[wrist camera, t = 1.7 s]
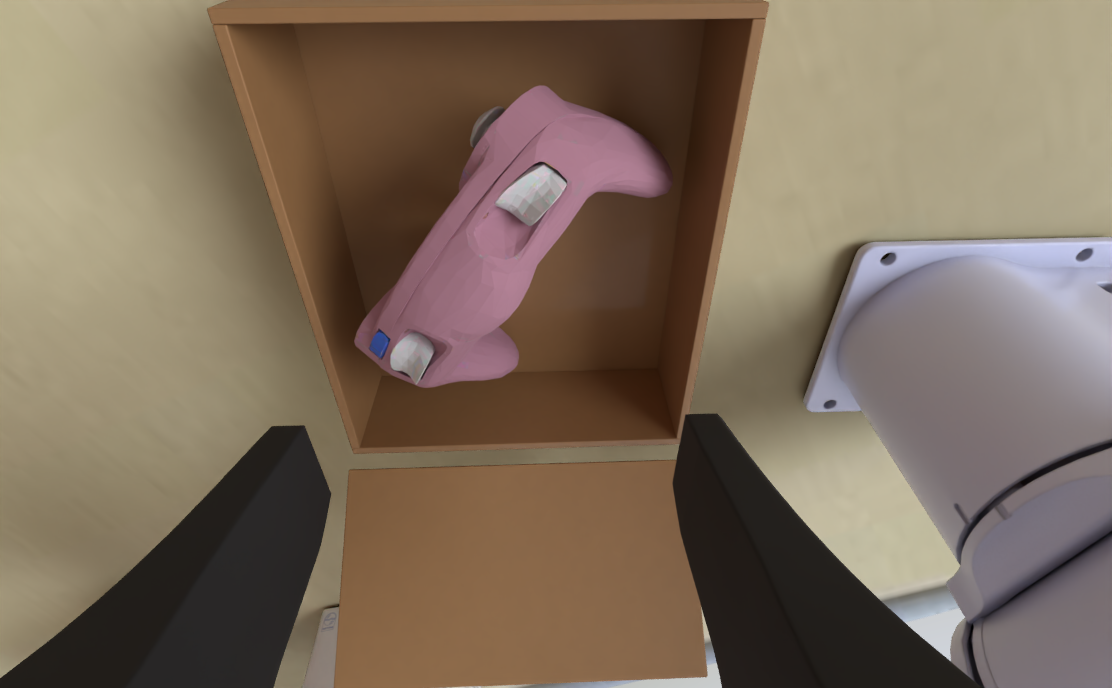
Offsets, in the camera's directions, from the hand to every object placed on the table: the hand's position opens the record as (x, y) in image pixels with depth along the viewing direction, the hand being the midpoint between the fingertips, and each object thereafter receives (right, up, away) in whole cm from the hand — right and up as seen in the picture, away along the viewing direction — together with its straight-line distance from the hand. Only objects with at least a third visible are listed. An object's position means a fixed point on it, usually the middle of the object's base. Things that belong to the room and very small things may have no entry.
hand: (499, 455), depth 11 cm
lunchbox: (0, +6, +8) cm, 10 cm away
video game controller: (0, +6, +8) cm, 10 cm away
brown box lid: (0, -5, +7) cm, 9 cm away
